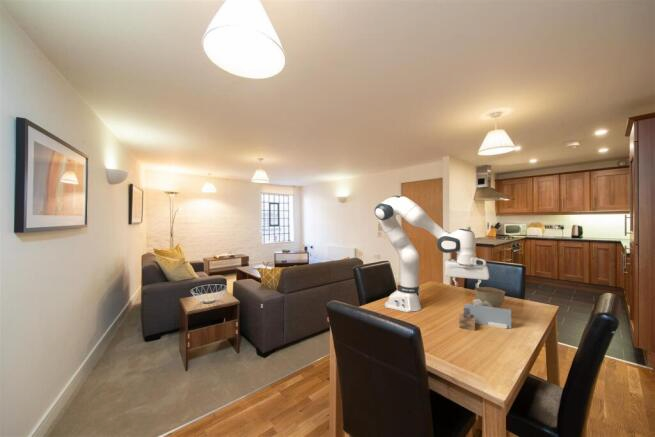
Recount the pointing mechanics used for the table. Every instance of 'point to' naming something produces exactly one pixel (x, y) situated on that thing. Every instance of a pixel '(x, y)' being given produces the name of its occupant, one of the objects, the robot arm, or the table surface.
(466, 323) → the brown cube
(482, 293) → the planter bowl
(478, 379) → the table surface
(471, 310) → the wall board
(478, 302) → the wall hook
